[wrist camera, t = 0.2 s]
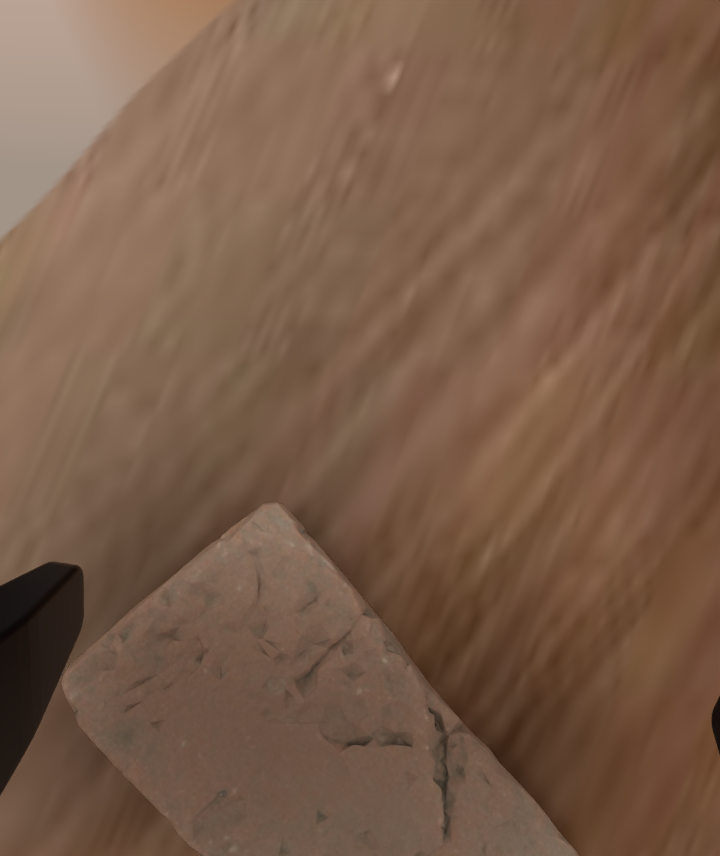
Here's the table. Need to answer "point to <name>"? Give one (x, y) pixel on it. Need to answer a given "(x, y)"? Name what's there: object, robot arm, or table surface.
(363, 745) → the brick
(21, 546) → the table surface
